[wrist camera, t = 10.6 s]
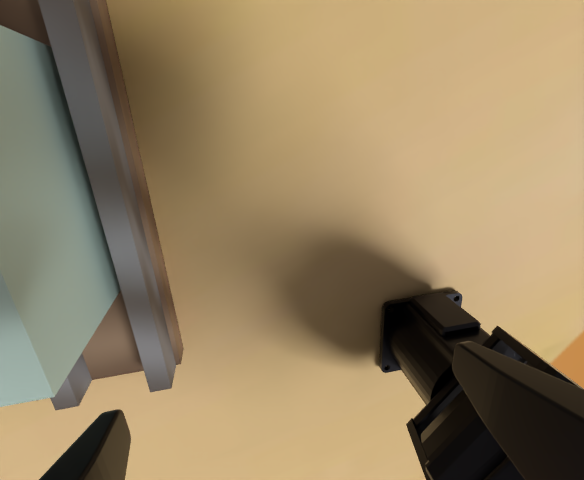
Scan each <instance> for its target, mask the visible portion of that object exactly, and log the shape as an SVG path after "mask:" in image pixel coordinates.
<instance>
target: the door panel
mask: <svg viewBox="0 0 584 480" xmlns="http://www.w3.org/2000/svg"><path fill="white" fill-rule="evenodd" d="M120 290H121V288H120V285H119V281H118V278H117V274H116V271H115V267H114V264H113V260H112V257H111V253H110V250H109V246H108V243H107V239H106V236H105V232H104V229H103V225H102V222H101V218H100V215H99V211H98V208H97V204H96V201H95V197H94V194H93V190H92V187H91V183H90V180H89V176H88V173H87V169H86V166H85V162H84V159H83V155H82V152H81V148H80V145H79V141H78V138H77V134H76V131H75V127H74V124H73V121H72V117H71V114H70V110H69V107H68V103H67V100H66V96H65V93H64V89H63V86H62V82H61V79H60V75H59V72H58V68H57V65H56V61H55V58H54V54H53V51H52V47H50V46H48V45H46V44H43V43H41V42H39V41H36V40H34V39H32V38H29V37H27V36H25V35H22V34H20V33H18V32H15V31H13V30H11V29H8V28H6V27H4V26H1V25H0V407H2V406H8V405H13V404H19V403H24V402H29V401H35V400H40V399H46V398H51V397H55V395H56V394H57V392H58V390H59V389H60V387H61V386H62V384H63V382H64V381H65V379H66V378H67V376H68V374H69V373H70V371H71V369H72V368H73V366H74V365H75V363H76V361H77V360H78V358H79V356H80V355H81V353H82V352H83V350H84V348H85V347H86V345H87V344H88V342H89V340H90V339H91V337H92V335H93V334H94V332H95V331H96V329H97V327H98V326H99V324H100V323H101V321H102V319H103V318H104V316H105V314H106V313H107V311H108V310H109V308H110V306H111V305H112V303H113V301H114V300H115V298H116V297H117V295H118V293H119V292H120Z"/></svg>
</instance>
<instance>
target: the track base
mask: <svg viewBox="0 0 584 480" xmlns="http://www.w3.org/2000/svg"><path fill="white" fill-rule="evenodd" d="M0 25H1V26H4V27H6V28H8V29H11V30H13V31H15V32H18V33H20V34H22V35H25V36H27V37H29V38H32V39H34V40H36V41H39V42H41V43H43V44H46V45H48V46H50V47H52V51H53V54H54V58H55V61H56V65H57V68H58V72H59V75H60V79H61V82H62V86H63V89H64V93H65V96H66V100H67V103H68V107H69V110H70V114H71V117H72V121H73V124H74V127H75V131H76V134H77V138H78V141H79V145H80V148H81V152H82V155H83V159H84V162H85V166H86V169H87V173H88V176H89V180H90V183H91V187H92V190H93V194H94V197H95V201H96V204H97V208H98V211H99V215H100V218H101V222H102V225H103V229H104V232H105V236H106V239H107V243H108V246H109V250H110V253H111V257H112V260H113V264H114V267H115V271H116V274H117V278H118V281H119V285H120V288H121V290H120V292H119V293H118V295H117V297H116V298H115V300H114V301H113V303H112V305H111V306H110V308H109V310H108V311H107V313H106V314H105V316H104V318H103V319H102V321H101V323H100V324H99V326H98V327H97V329H96V331H95V332H94V334H93V335H92V337H91V339H90V340H89V342H88V344H87V345H86V347H85V348H84V350H83V352H82V353H81V355H80V356H79V358H78V360H77V361H76V363H75V365H74V366H73V368H72V369H71V371H70V373H69V374H68V376H67V378H66V379H65V381H64V382H63V384H62V386H61V387H60V389H59V390H58V392H57V394H56V395H55V397H51V398H50V399H51V401H52V403H53V405H54V408H55V410H60V409H65V408H70V407H76V406H79V404H80V402H81V400H82V398H83V396H84V395H85V393H86V391H87V389H88V387H89V385H90V383H91V381H92V380H94V379H100V378H105V377H111V376H117V375H122V374H128V373H133V372H139V371H144V372H145V376H146V379H147V383H148V386H149V390H150V392H154V391H160V390H165V389H170V388H172V383H173V378H174V373H175V368H176V365H178V364H181V360H182V355H183V344H182V340H181V335H180V331H179V327H178V322H177V318H176V313H175V309H174V304H173V300H172V295H171V291H170V286H169V282H168V277H167V273H166V268H165V264H164V259H163V255H162V250H161V246H160V241H159V237H158V232H157V228H156V223H155V219H154V214H153V210H152V205H151V201H150V196H149V192H148V187H147V183H146V178H145V174H144V170H143V165H142V161H141V156H140V152H139V147H138V143H137V138H136V134H135V129H134V125H133V120H132V116H131V111H130V107H129V102H128V98H127V93H126V89H125V84H124V80H123V75H122V71H121V66H120V62H119V57H118V53H117V48H116V44H115V39H114V35H113V30H112V26H111V21H110V17H109V13H108V8H107V4H106V0H0Z"/></svg>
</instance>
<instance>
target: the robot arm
mask: <svg viewBox="0 0 584 480" xmlns="http://www.w3.org/2000/svg"><path fill="white" fill-rule="evenodd" d="M455 296H456V297H455ZM454 297H455V298H454ZM461 303H462V295H461V294H460V293H459V292H458V291H449V292H443V293H442V292H439V293H433V294H427V295H421V296H415V297H412V298H406V299H400V300H394V301H388V302H386V303H385V304H384V305H383V307H382V322H381V342H380V362H379V366H380V368H381V370H382V371H383V372H384V373H387V372H392V371H397V370H402V372H403V373H404V374H405V376H406V377H407V379H408V380H409V381H410V383H411V384H412V386H413V387H414V388H415V390H416V391H417V393H418V394H419V395H420V397H421V398H422V400H423V401H424V403H425V404H426V406H425V407H424V408H423V409H422V410H421V411H420V412H419V413H418V414H417V415H416V417H415V418H414V419H413V418H412V419H411V420H410V421H409V422H408V423H407V424H406V425H407V428H408V431H409V434H410V436H411V439H412V442H413V445H414V448H415V450H416V453H417V456H418V459H419V461H420V464H421V467H422V470H423V472H424V475H425V478H426V480H584V389H583V388H581V387H580V386H579V385H578V384H576V383H575V382H573V381H572V380H571V379H570V378H568V377H567V376H566V375H564V374H563V373H562V372H560V371H559V370H557V369H556V368H555V367H553V366H552V365H551V364H549V363H548V362H547V361H545V360H544V359H543V358H541V357H540V356H539V355H537V354H536V353H535V352H533V351H532V350H530V349H529V348H528V347H526V346H525V345H523V344H522V343H521V342H519V341H518V340H517V339H515V338H514V337H512V336H511V335H510V334H508V333H507V332H505V331H504V330H503V329H501V328H500V327H499V326H497V327H496V328H495V329H494V330H493V331H492V335H491V336H490V335H489V334H488V333H487V332H485V331H484V330H483V329H482V328H480V325H481V324H480V322H479V321H477V320H476V319H475V318H474V317H472V316H471V315H470V314H469V313H467V312H466V311H465V310H464V309H462V308H461ZM390 307H391V309H389V308H390ZM388 309H389V310H388ZM385 366H386V367H385ZM130 443H131V436H130V431H129V428H128V425H127V422H126V419H125V416H124V413H123V411H122V410H119V409H118V410H113V411H108V412H104V413H102V414H101V415H100V416H99V417H98V418H97V419H96V420H95V421H94V422H93V423H92V424H91V425H90V426H89V427H88V428H87V429H86V430H85V431H84V433H83V434H82V435H81V436H80V437H79V438H78V439H77V440H76V441H75V442H74V443H73V444H72V445H71V446H70V447H69V448H68V449H67V451H66V452H65V453H64V454H63V455H62V456H61V457H60V458H59V459H58V460H57V461H56V462H55V463H54V464H53V465H52V466H51V467H50V469H49V470H48V471H47V472H46V473H45V474H44V475H43V476H42V477H41V478H40V479H39V480H125V475H126V469H127V462H128V456H129V449H130Z"/></svg>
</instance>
